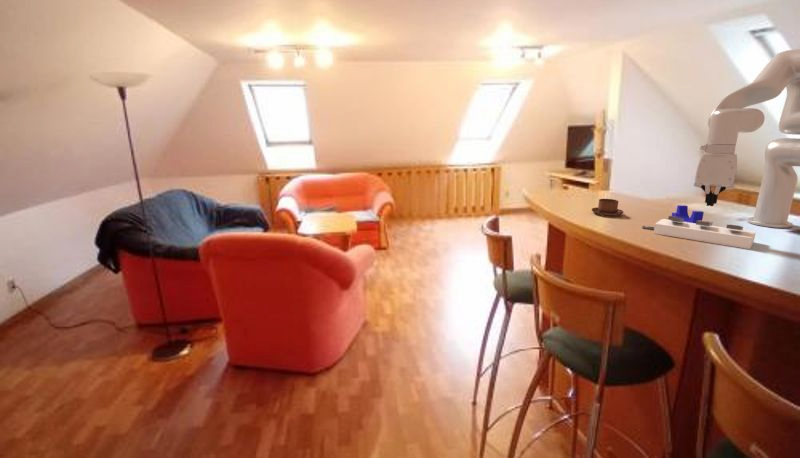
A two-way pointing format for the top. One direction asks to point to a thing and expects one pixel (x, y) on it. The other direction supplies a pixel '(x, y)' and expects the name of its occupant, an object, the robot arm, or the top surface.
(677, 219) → the grey flat block
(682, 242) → the top surface
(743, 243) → the power strip
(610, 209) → the cup and saucer
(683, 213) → the cable clip
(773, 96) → the robot arm
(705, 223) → the block
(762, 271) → the top surface
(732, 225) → the grey rectangular block
